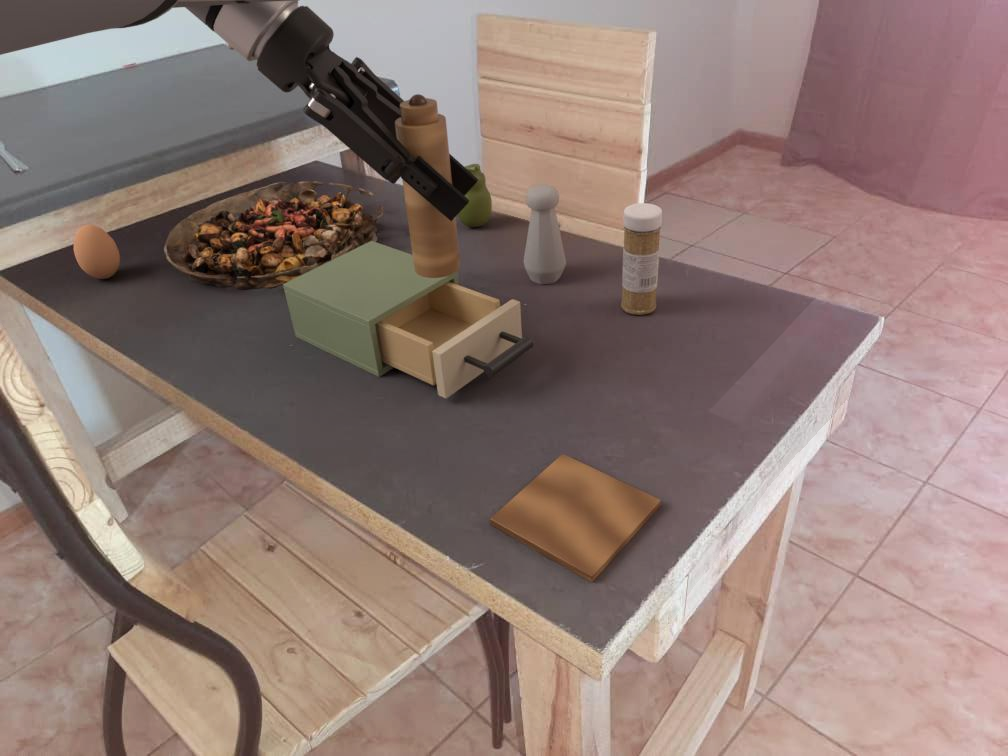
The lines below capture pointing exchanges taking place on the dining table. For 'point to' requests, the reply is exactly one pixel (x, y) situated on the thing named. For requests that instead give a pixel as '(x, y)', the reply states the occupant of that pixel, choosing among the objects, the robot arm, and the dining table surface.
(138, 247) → the dining table surface
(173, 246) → the food dish
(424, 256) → the pepper mill
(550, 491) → the square wooden board
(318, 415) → the dining table surface
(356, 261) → the cabinet
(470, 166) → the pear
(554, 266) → the salt shaker
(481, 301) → the drawer
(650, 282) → the spice jar
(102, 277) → the egg
